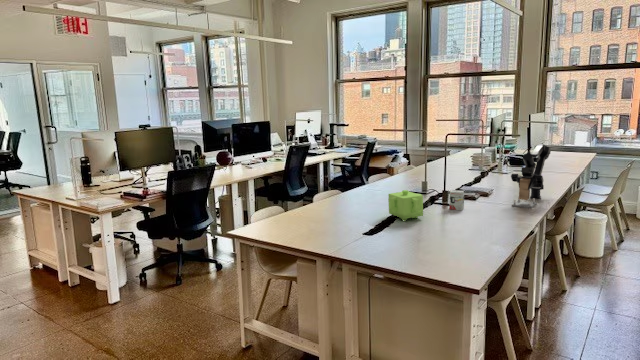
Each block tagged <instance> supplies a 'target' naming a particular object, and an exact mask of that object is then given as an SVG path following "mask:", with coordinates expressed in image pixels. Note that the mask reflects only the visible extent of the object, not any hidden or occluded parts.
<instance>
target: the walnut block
mask: <svg viewBox="0 0 640 360" xmlns="http://www.w3.org/2000/svg"><path fill="white" fill-rule="evenodd" d="M530 180H531V179H527V178H522V179H520V187H519V186H518V189H519V190H518V197H519V199H520V200H521V201H522V200H524V201H528V200H529V199H530V196H531V189H529V190H528V187H529V184H530Z"/></svg>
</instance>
